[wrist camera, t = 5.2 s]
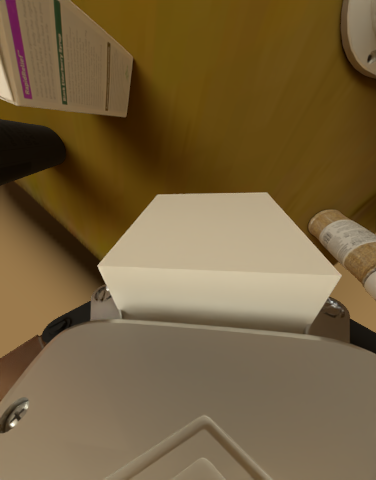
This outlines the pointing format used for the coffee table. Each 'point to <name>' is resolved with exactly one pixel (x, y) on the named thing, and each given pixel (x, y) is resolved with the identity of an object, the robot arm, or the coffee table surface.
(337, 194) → the coffee table surface
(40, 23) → the syrup box
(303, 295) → the cream matte cube
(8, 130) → the drinking cup
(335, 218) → the sprinkles bottle
